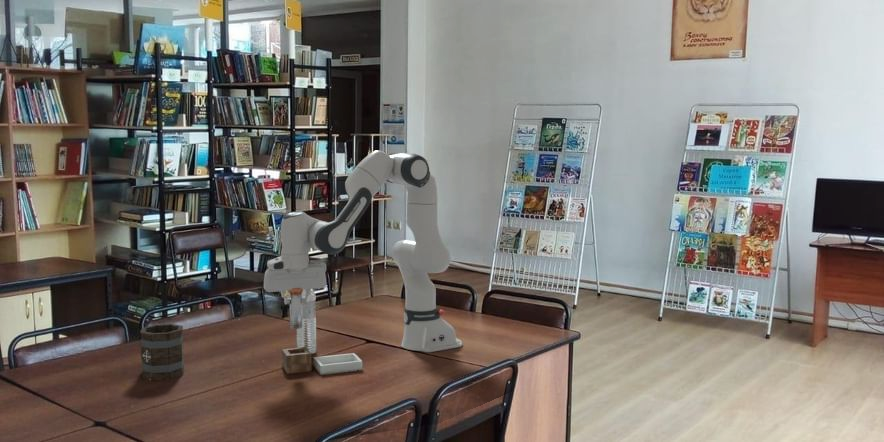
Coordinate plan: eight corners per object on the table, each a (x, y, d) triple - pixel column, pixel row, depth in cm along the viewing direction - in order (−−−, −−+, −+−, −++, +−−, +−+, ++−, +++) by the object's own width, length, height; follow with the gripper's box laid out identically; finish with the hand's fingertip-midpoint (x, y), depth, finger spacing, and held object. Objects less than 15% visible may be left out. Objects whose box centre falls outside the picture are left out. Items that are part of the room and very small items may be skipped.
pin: (301, 324, 257) (301, 285, 255) (305, 328, 252) (304, 287, 251) (287, 326, 255) (286, 286, 253) (290, 329, 250) (289, 289, 249)
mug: (191, 375, 247) (189, 330, 246) (147, 383, 240) (146, 336, 238) (172, 360, 263) (170, 318, 261) (131, 367, 255) (129, 323, 254)
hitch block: (306, 364, 260) (305, 346, 260) (311, 371, 253) (311, 353, 252) (282, 366, 257) (282, 349, 257) (286, 373, 250) (286, 355, 249)
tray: (354, 361, 264) (354, 353, 263) (362, 370, 254) (362, 361, 254) (313, 366, 258) (313, 357, 258) (320, 374, 249) (320, 365, 249)
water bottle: (312, 356, 269) (311, 286, 266) (293, 355, 271) (292, 285, 268) (319, 350, 276) (318, 282, 273) (301, 349, 277) (300, 281, 274)
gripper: (324, 258, 258) (324, 298, 259) (262, 262, 250) (263, 303, 252) (328, 261, 252) (329, 302, 254) (265, 265, 244) (266, 307, 246)
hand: (295, 303), depth 253 cm, fingers closed on pin, 4 cm apart
